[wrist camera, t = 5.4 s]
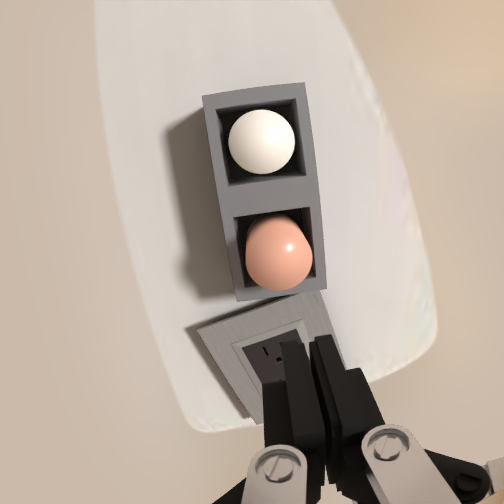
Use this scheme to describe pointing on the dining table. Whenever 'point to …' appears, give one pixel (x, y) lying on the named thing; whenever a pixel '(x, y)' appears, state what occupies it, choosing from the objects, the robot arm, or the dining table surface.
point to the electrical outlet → (264, 343)
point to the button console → (267, 183)
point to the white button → (261, 141)
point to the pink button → (277, 252)
